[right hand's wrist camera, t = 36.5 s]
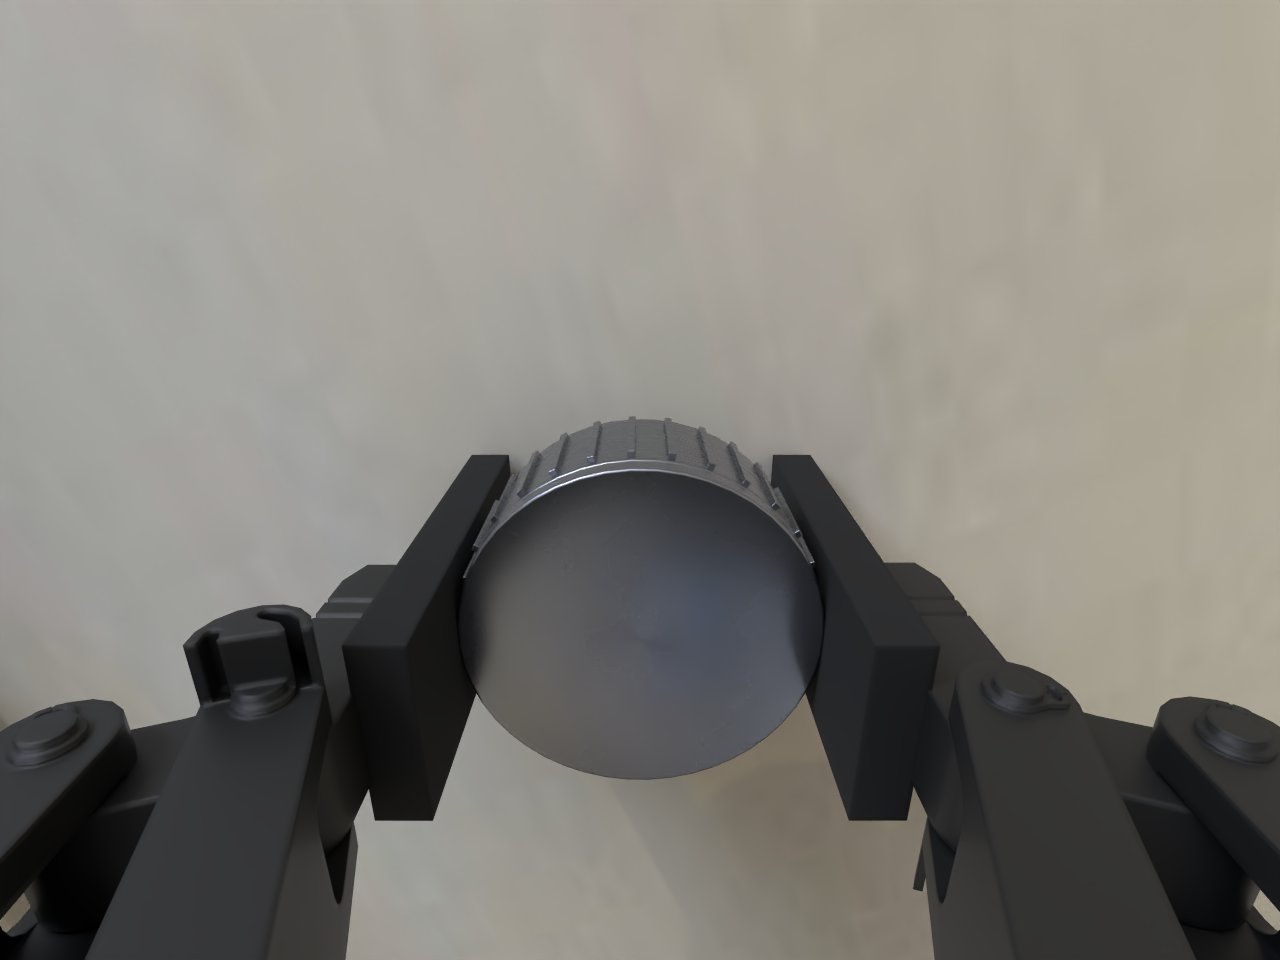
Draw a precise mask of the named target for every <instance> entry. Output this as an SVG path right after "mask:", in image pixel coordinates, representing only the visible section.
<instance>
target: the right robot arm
mask: <svg viewBox="0 0 1280 960" xmlns="http://www.w3.org/2000/svg"><path fill="white" fill-rule="evenodd" d="M509 478H510V464H509V455H472V456H471V457H470V458H469V460H468V461H467V463H466V464H465V466H464V467H463V469H462V470H461V472H460V473H459V475H458V476H457V477H456V479H455V480H454V482H453V483H452V485H451V486H450V488H449V489H448V491H447V492H446V494H445V495H444V496H443V498H442V499H441V501H440V502H439V504H438V505H437V507H436V508H435V510H434V511H433V513H432V514H431V515H430V517H429V518H428V520H427V521H426V523H425V524H424V526H423V527H422V529H421V530H420V532H419V533H418V534H417V536H416V537H415V539H414V540H413V542H412V543H411V545H410V546H409V548H408V549H407V551H406V552H405V553H404V555H403V556H402V558H401V559H400V561H399V562H398V564H397V565H367V566H365V567H364V568H362V569H360V570H359V571H357V572H356V573H354V574H353V575H351V576H349V577H348V578H346V579H345V580H343V581H342V582H341V584H340V585H339V586H338V587H337V589H336V590H335V591H334V592H333V594H332V595H331V596H330V597H329V599H328V603H325V604H324V605H323V606H322V607H321V609H320V610H319V611H318V612H317V614H316V618H313V619H311V616H310V615H309V614H308V613H307V612H305V611H304V610H303V609H301V608H298V607H293V606H288V605H263V606H257V607H253V608H248V609H244V610H239V611H236V612H233V613H231V614H228V615H226V616H223V617H221V618H218V619H216V620H213V621H212V622H210V623H209V624H207V625H205V626H204V627H202V628H201V629H199V630H197V631H196V632H195V633H194V634H193V635H192V636H191V637H190V638H189V639H188V640H187V641H186V642H185V644H184V645H183V648H184V651H185V655H186V658H187V661H188V665H189V668H190V672H191V675H192V678H193V682H194V685H195V689H196V692H197V695H198V699H199V702H200V708H199V710H198V712H197V715H196V716H194V717H190V718H187V719H182V720H177V721H172V722H167V723H162V724H158V725H153V726H148V727H143V728H138V729H133V730H130V728H129V725H128V722H127V719H126V716H125V713H124V710H123V709H122V708H120V707H119V706H118V705H116V704H115V703H114V702H112V701H103V700H95V699H91V700H84V701H77V702H69V703H64V704H60V705H56V706H55V707H52V708H51V707H49V708H46V709H44V710H41V711H38V712H36V713H34V714H33V715H31V716H29V717H27V718H25V719H23V720H21V721H19V722H16V723H14V724H12V725H10V726H9V727H8V728H6V729H5V730H3V731H2V732H0V920H1V918H2V917H3V916H4V915H5V914H6V913H7V911H8V910H9V909H10V908H11V907H12V906H13V904H14V903H15V902H16V901H17V900H18V899H19V897H20V896H21V895H22V894H23V893H25V895H26V898H27V900H28V902H29V904H30V906H31V908H30V909H29V910H28V911H27V912H26V914H25V915H24V916H23V917H22V918H21V920H20V921H19V922H18V923H17V924H16V925H15V926H13V927H12V928H11V929H10V930H9V931H8V932H7V933H5V932H4V931H3V930H2V928H1V926H0V960H345V959H346V950H347V941H348V932H349V923H350V914H351V905H352V895H353V886H354V877H355V868H356V859H357V850H358V843H357V837H356V831H355V826H354V819H355V817H356V815H357V813H358V811H359V808H360V806H361V804H362V802H363V800H364V798H365V796H366V793H367V791H368V789H369V792H370V797H371V802H372V807H373V813H374V818H375V821H433V819H434V816H435V813H436V810H437V807H438V804H439V801H440V798H441V795H442V792H443V789H444V786H445V784H446V781H447V778H448V775H449V772H450V769H451V766H452V763H453V760H454V757H455V754H456V751H457V748H458V745H459V742H460V740H461V737H462V734H463V731H464V728H465V725H466V722H467V719H468V716H469V713H470V710H471V707H472V704H473V701H474V699H475V696H476V691H475V690H474V688H473V686H472V684H471V682H470V679H469V677H468V675H467V672H466V670H465V667H464V664H463V660H462V656H461V652H460V648H459V640H458V630H457V618H458V604H459V600H460V595H461V591H462V586H463V583H462V577H463V575H464V573H465V571H466V568H467V566H468V564H469V562H470V560H471V558H472V556H473V554H474V551H472V548H473V545H474V543H475V541H476V539H477V537H478V535H479V533H480V531H481V529H482V527H483V525H484V523H485V521H486V519H487V517H488V515H489V513H490V511H491V508H492V506H493V504H494V502H495V500H498V501H499V499H500V497H501V495H502V493H503V491H504V489H505V487H506V484H507V482H508V480H509ZM771 486H772V487H773V488H774V489H775V488H777V487H778V488H779V489H780V491H781V493H782V495H783V497H784V499H785V501H786V503H787V505H788V507H789V509H790V511H791V513H792V515H793V517H794V519H795V521H796V523H797V525H798V527H799V529H800V531H801V533H802V537H803V539H804V541H805V543H806V545H807V547H808V549H809V551H810V553H811V555H812V557H813V559H814V561H815V564H816V567H815V568H813V570H814V573H815V576H816V578H817V581H818V584H819V587H820V590H821V596H822V602H823V608H824V637H823V644H822V651H821V655H820V658H819V661H818V665H817V668H816V672H815V674H814V676H813V678H812V680H811V682H810V685H809V687H808V689H807V691H806V692H805V693H806V696H807V699H808V702H809V705H810V708H811V711H812V713H813V716H814V719H815V722H816V725H817V728H818V731H819V734H820V737H821V740H822V743H823V746H824V749H825V752H826V755H827V757H828V760H829V763H830V766H831V769H832V772H833V775H834V778H835V781H836V784H837V787H838V790H839V793H840V796H841V799H842V801H843V804H844V807H845V810H846V813H847V816H848V819H849V821H884V820H907V817H908V812H909V807H910V802H911V797H912V791H913V786H914V788H915V790H916V792H917V794H918V797H919V799H920V801H921V803H922V805H923V807H924V809H925V811H926V813H927V821H926V826H925V831H924V835H923V840H922V845H921V850H920V855H919V859H918V864H917V869H916V874H915V880H914V887H913V889H915V890H919V891H923V886H924V882H925V877H926V885H927V894H928V903H929V912H930V921H931V930H932V939H933V948H934V957H935V960H1280V930H1279V931H1277V930H1275V929H1274V928H1273V927H1272V926H1271V925H1270V924H1269V923H1268V922H1267V921H1266V920H1265V919H1264V918H1263V917H1262V915H1261V914H1260V913H1259V912H1258V911H1257V910H1256V908H1255V907H1254V906H1253V904H1254V902H1255V899H1256V897H1257V895H1258V893H1259V891H1260V890H1261V891H1262V892H1263V893H1264V894H1265V895H1266V897H1267V898H1268V899H1269V900H1270V901H1271V902H1272V903H1273V905H1274V906H1275V907H1276V908H1277V909H1278V910H1279V912H1280V727H1279V726H1277V725H1276V724H1275V723H1273V722H1271V721H1269V720H1267V719H1265V718H1263V717H1261V716H1258V715H1256V714H1254V713H1252V712H1251V711H1249V710H1247V709H1245V708H1242V707H1239V706H1237V705H1234V704H1233V705H1230V704H1229V703H1227V702H1223V701H1218V700H1212V699H1205V698H1197V697H1183V698H1174V699H1170V700H1169V701H1168V702H1166V703H1165V704H1163V705H1162V706H1161V707H1160V709H1159V712H1158V715H1157V718H1156V721H1155V723H1154V726H1153V727H1148V726H1143V725H1138V724H1133V723H1128V722H1124V721H1119V720H1114V719H1109V718H1104V717H1099V716H1095V715H1091V714H1088V713H1084V712H1083V711H1082V709H1081V707H1080V705H1079V703H1078V702H1077V701H1076V699H1075V698H1074V697H1073V695H1072V694H1071V693H1070V691H1069V690H1068V689H1066V688H1065V687H1063V686H1062V685H1061V684H1059V683H1058V682H1057V681H1055V680H1054V679H1052V678H1051V677H1049V676H1047V675H1045V674H1043V673H1040V672H1038V671H1036V670H1034V669H1032V668H1029V667H1026V666H1022V665H1018V664H1014V663H1010V662H1007V661H1006V660H1005V659H1004V658H1003V656H1002V655H1001V654H1000V653H999V651H998V650H997V649H996V648H995V646H994V645H993V644H992V643H991V641H990V640H989V639H988V638H987V637H986V635H985V634H984V633H983V632H982V630H981V629H980V628H979V627H978V625H977V624H976V623H975V622H974V620H973V619H972V618H971V617H970V616H967V612H966V610H965V609H964V608H963V607H962V605H961V604H960V603H959V602H958V601H957V600H955V599H954V596H953V594H952V593H951V592H950V591H949V589H948V588H947V587H946V586H945V584H944V583H943V582H942V581H941V579H940V578H938V577H937V576H935V575H933V574H932V573H930V572H929V571H927V570H925V569H924V568H922V567H921V566H919V565H917V564H916V563H884V562H883V561H882V559H881V558H880V556H879V555H878V553H877V552H876V550H875V549H874V547H873V546H872V545H871V543H870V542H869V540H868V539H867V537H866V536H865V534H864V533H863V531H862V530H861V528H860V527H859V526H858V524H857V523H856V521H855V520H854V518H853V517H852V515H851V514H850V512H849V511H848V510H847V508H846V507H845V505H844V504H843V502H842V501H841V499H840V498H839V496H838V495H837V493H836V492H835V491H834V489H833V488H832V486H831V485H830V483H829V482H828V480H827V479H826V477H825V476H824V474H823V473H822V472H821V470H820V469H819V467H818V466H817V464H816V463H815V461H814V460H813V458H812V457H811V455H773V464H772V477H771Z"/></svg>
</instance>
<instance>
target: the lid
mask: <svg viewBox="0 0 1280 960" xmlns="http://www.w3.org/2000/svg"><path fill="white" fill-rule="evenodd" d="M472 551H474V554H473V556H472V558H471V560H470V562H469V564H468V566H467V568H466V571H465V573H464V575H463V577H462V583H463V586H462V591H461V595H460V600H459V604H458V618H457V630H458V640H459V648H460V652H461V656H462V660H463V664H464V667H465V670H466V672H467V675H468V677H469V679H470V682H471V684H472V686H473V688H474V690H475V691H476V693H477V695H478V696H479V698H480V700H481V701H482V703H483V704H484V706H485V707H486V708H487V709H488V711H489V712H490V713H491V714H492V716H493V717H494V718H495V719H496V720H497V721H498V722H499V723H500V724H501V725H502V726H503V727H504V728H505V729H506V730H507V731H508V732H509V733H510V734H511V735H513V736H514V737H515V738H517V739H518V740H519V741H521V742H522V743H523V744H524V745H526V746H527V747H529V748H531V749H532V750H534V751H536V752H537V753H539V754H541V755H542V756H544V757H546V758H548V759H551V760H553V761H555V762H557V763H559V764H562V765H564V766H567V767H570V768H573V769H576V770H579V771H582V772H585V773H590V774H595V775H599V776H604V777H611V778H620V779H642V780H650V779H661V778H671V777H676V776H682V775H687V774H692V773H695V772H699V771H702V770H705V769H709V768H712V767H714V766H717V765H719V764H721V763H724V762H726V761H729V760H731V759H733V758H735V757H737V756H738V755H740V754H742V753H744V752H746V751H747V750H749V749H751V748H752V747H754V746H755V745H756V744H758V743H759V742H761V741H762V740H763V739H765V738H766V737H768V736H769V735H770V734H771V733H772V732H773V731H774V730H775V729H776V728H777V727H778V726H780V725H781V724H782V723H783V722H784V721H785V719H786V718H787V717H788V716H789V715H790V713H791V712H792V711H793V710H794V709H795V708H796V706H797V705H798V703H799V702H800V700H801V698H802V697H803V695H804V694H805V692H806V691H807V689H808V687H809V685H810V682H811V680H812V678H813V676H814V674H815V672H816V668H817V665H818V661H819V658H820V655H821V651H822V644H823V637H824V608H823V602H822V596H821V590H820V587H819V584H818V581H817V578H816V576H815V573H814V570H813V568H815V567H816V564H815V561H814V559H813V557H812V555H811V553H810V551H809V549H808V547H807V545H806V543H805V541H804V539H803V537H802V533H801V531H800V529H799V527H798V525H797V523H796V521H795V519H794V517H793V515H792V513H791V511H790V509H789V507H788V505H787V503H786V501H785V499H784V497H783V495H782V493H781V491H780V489H779V488H778V487H777V488H775V489H774V488H773V487H772V486H771V484H770V483H769V481H768V479H767V477H766V475H765V473H764V470H763V468H762V466H761V465H760V464H759V463H758V462H757V463H756V464H753V463H752V462H751V461H750V460H749V459H748V458H747V457H745V456H744V455H743V454H741V453H740V452H739V451H738V449H737V446H736V444H734V443H733V442H730V443H729V444H727V443H725V442H724V441H722V440H720V439H719V438H717V437H715V436H713V435H710V434H708V433H706V429H705V428H703V427H699V429H696V428H692V427H689V426H685V425H681V424H678V423H673V422H672V421H671V419H668V418H665V420H664V421H659V420H636V417H635V416H634V417H629V420H624V421H615V422H608V423H604V424H601V423H600V421H598V422H594V424H593V426H592V427H589V428H586V429H583V430H581V431H578V432H576V433H573V434H570V435H569V436H568V434H567V433H565V434H563V435H561V437H560V440H559V441H557V442H556V443H554V444H552V445H551V446H549V447H548V448H546V449H545V450H544V451H542V452H541V453H539V452H538V451H536V452H535V453H533V454H532V457H531V459H530V461H529V463H528V464H527V465H526V466H525V467H524V468H523V469H522V470H521V471H520V473H519V474H518V475H517V476H516V475H515V474H514V473H513V474H512V475H511V477H510V478H509V480H508V482H507V484H506V487H505V489H504V491H503V493H502V495H501V497H500V499H499V501H498V500H495V502H494V504H493V506H492V508H491V511H490V513H489V515H488V517H487V519H486V521H485V523H484V525H483V527H482V529H481V531H480V533H479V535H478V537H477V539H476V541H475V543H474V545H473V548H472Z"/></svg>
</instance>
